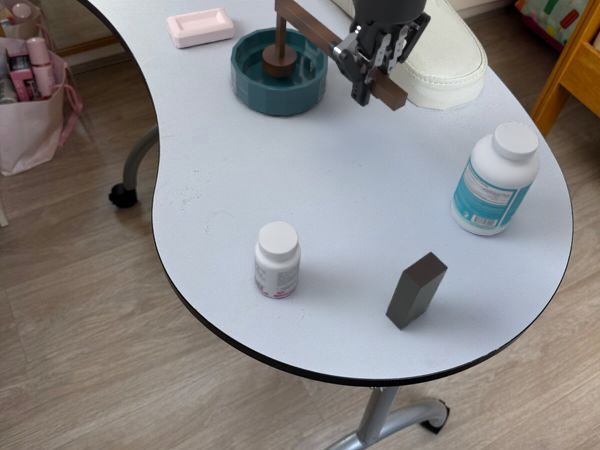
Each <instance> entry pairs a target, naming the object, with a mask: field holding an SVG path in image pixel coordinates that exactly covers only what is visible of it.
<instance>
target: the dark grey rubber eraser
mask: <svg viewBox="0 0 600 450" xmlns="http://www.w3.org/2000/svg"><path fill="white" fill-rule="evenodd" d="M448 269H449V267H448V266H447V265H446V264H445V263H444V262H443V261H442V260H441V259H440V258H439V257H438V256H437V255H436V254H434V253H433V252H432V251H429V252H428V253H426V254H425V255H424V256H422V257H420V258H419V259H418V260H416V261H415V262H414V263H412V264H411V265H410V266H408V267H407V268H405V269H404V270H402V272H401V275H400V277H399V280H398V282H397V284H396V287H395V289H394V291H393V294H392V296H391V300H390V302H389V305H388V306H387V309H386V311H385V316H386V317H387V318H388V319H389V321H391V322H392V324H394V326H395V327H396V328H397V329H398V330H399V331H402V330H403V329H405V328H406V327H407V326H409V325H410V324H411V323H412V322H414V321H415V320H416V319H417V318H419V317H420V316H422V314H424V313H425V312H426V311H427V310H428V308H429V306H430V305H431V302H432V300H433V298H434V296H435V295H436V292H437V291H438V289H439V287H440V285H441V283H442V282H443V280H444V277H445V275H446V273H447V271H448Z"/></svg>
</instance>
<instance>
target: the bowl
mask: <svg viewBox="0 0 600 450" xmlns="http://www.w3.org/2000/svg"><path fill="white" fill-rule="evenodd" d="M275 40H276V26H272V27H271V26H270V27H266V28H261V29H259V28H258V29H256V30H254V31H251V32H250V33H247V34H245V35H243V36H241V37H240V38H239V39H238V41H237V42H236V43H235V44H234V45H233V47H232V49H231V55H230V79H231V80H230V83H231V87H232V89H233V92H234V94H235V96H236V98H237V99H238V100H240V101H241V102H242V103H243V104H244V105H246V107H248V108H250V109H253V110H254V111H257V112H259V113H263V114H265V115H266V114H267V115H274V116H275V115H276V116H289V115H293V114H299V113H303V112H305V111H307V110H308V109H311V108H312V107H314V106H315V105H317V104H318V103H319V102H320V100H321V98H322V97H323V95H324V94H325V91H326V86H327V78H328V69H329V56H328V55H326V54H325V53H324V52H323V51H322V50H321V49H319V48H318V47H317V46H316V45H315V44H313V43H312V42H311V41H310V40H309V39H308V38H306V37H305V36H304V35H303V34H302V33H300V32H299V31H298V30H297V29H295V28H289V27H286V41H285V45H287V46H290V47H292V48H293V49H294V50H295V51H296V53H297V62H296V70H295V71H294V73H292V74H291V75H289V76H286V77H274V76H271V75H269V74H267V73H266V72H265V71H264V70H263V67H262V54H263V51H264V49H265V48H266V47H268V46H270V45H273V44H275Z"/></svg>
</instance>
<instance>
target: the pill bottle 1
mask: <svg viewBox="0 0 600 450" xmlns="http://www.w3.org/2000/svg"><path fill="white" fill-rule="evenodd" d="M301 249H302V248H301V246H300V243H299V233H298V231H297V230H296V228H295V227H294V226H293V225H292V224H290V223H288V222H285V221H279V220H278V221H277V220H276V221H272V222H268V223H267V224H265V225H264V226H263V227H262V228H261V229H260V230H259V233H258V240H257V242H256V244H255V247H254V283H255V287H256V288H257V289H258V291H259V292H260V293H261V294H263V295H264V296H266V297H269V298H273V299H280V298H284V297H287V296H289V295H290V294H291V293H293V292H294V290H295V289H296V287H297V285H298V280H299V274H300V264H301V254H302V253H301V252H302V250H301Z"/></svg>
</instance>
